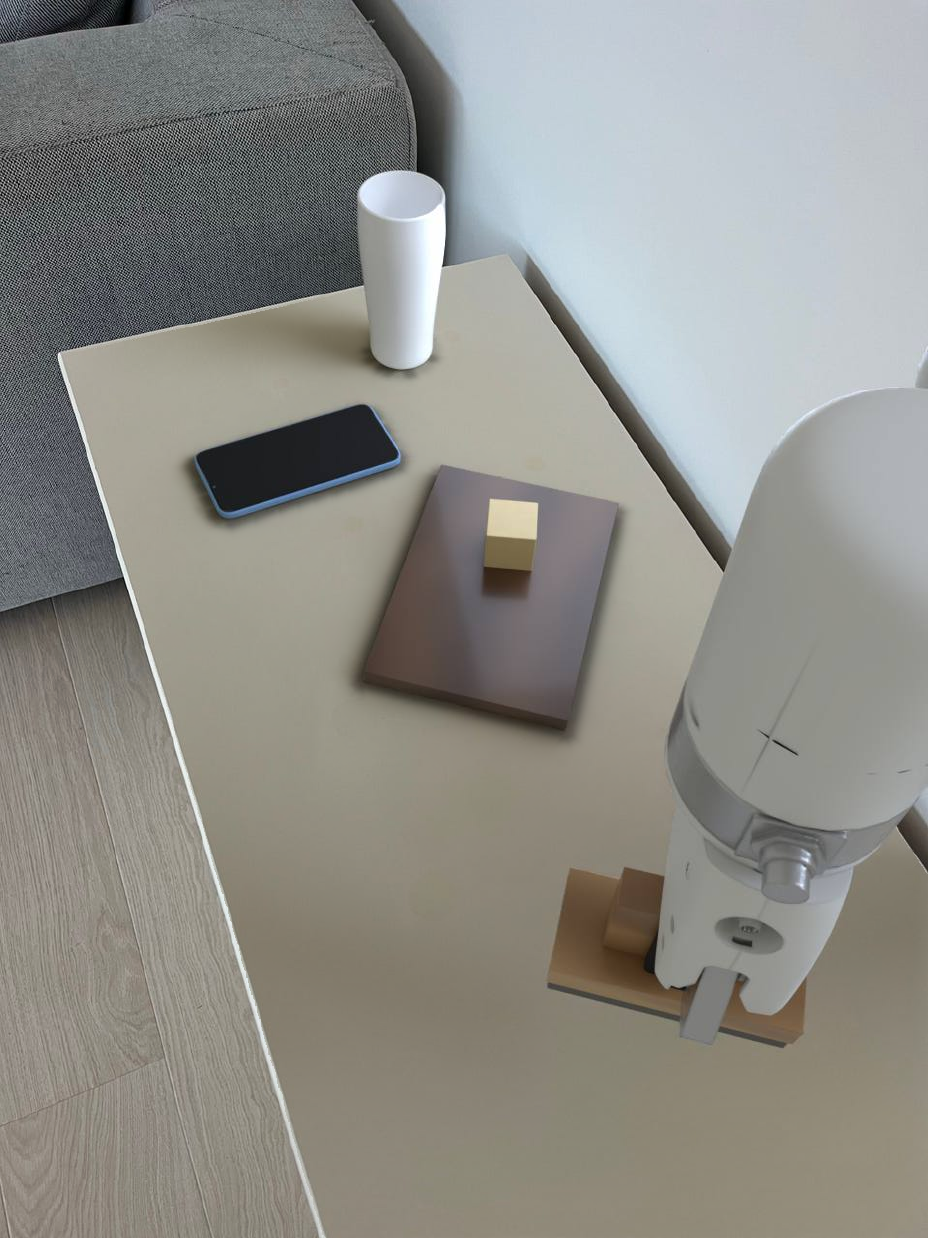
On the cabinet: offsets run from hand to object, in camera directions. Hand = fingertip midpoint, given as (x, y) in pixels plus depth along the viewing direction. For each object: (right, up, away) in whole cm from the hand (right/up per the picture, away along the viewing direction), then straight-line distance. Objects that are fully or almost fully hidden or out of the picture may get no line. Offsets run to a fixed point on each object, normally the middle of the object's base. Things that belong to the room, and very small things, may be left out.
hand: (682, 945), depth 48 cm
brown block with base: (0, -2, +3) cm, 3 cm away
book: (-7, +17, +29) cm, 35 cm away
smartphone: (-23, +27, +36) cm, 50 cm away
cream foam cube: (-7, +20, +30) cm, 37 cm away
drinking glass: (-15, +38, +44) cm, 60 cm away
